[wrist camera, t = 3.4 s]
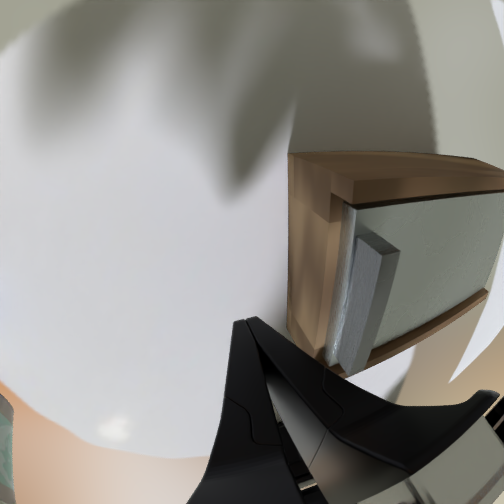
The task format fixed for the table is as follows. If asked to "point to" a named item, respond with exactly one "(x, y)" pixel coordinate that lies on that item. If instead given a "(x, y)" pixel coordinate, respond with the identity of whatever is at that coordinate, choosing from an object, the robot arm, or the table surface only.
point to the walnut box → (329, 224)
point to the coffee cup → (6, 453)
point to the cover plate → (407, 267)
